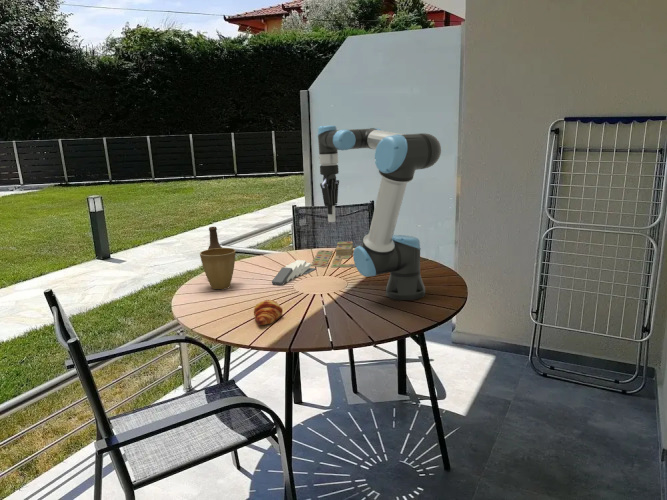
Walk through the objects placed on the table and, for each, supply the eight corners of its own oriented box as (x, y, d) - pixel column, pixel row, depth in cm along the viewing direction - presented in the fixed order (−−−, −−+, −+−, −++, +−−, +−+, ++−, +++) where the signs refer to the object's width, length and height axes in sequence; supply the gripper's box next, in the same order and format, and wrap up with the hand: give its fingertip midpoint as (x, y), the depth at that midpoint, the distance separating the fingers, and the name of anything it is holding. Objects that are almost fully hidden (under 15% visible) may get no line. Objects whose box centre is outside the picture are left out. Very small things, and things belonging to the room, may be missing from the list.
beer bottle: (206, 280, 233) (200, 228, 228) (214, 276, 241) (208, 225, 235) (222, 281, 232) (216, 228, 226) (229, 276, 239) (224, 225, 233)
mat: (306, 274, 236) (306, 273, 236) (291, 272, 239) (291, 272, 239) (315, 269, 244) (315, 268, 243) (301, 267, 247) (301, 267, 247)
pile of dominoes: (318, 252, 280) (317, 242, 278) (368, 251, 276) (367, 240, 275) (308, 269, 246) (307, 258, 245) (365, 268, 243) (364, 256, 242)
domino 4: (296, 274, 231) (305, 260, 238) (286, 273, 233) (296, 259, 240) (297, 277, 231) (306, 263, 238) (287, 276, 234) (297, 262, 241)
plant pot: (225, 294, 213) (221, 256, 209) (196, 291, 219) (192, 254, 215) (245, 283, 226) (242, 248, 222) (218, 281, 232) (214, 246, 228)
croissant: (267, 316, 195) (256, 298, 193) (290, 304, 193) (278, 286, 192) (254, 337, 174) (242, 317, 173) (279, 323, 172) (267, 303, 171)
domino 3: (291, 277, 227) (301, 263, 234) (281, 276, 229) (291, 262, 236) (292, 279, 228) (302, 265, 235) (282, 279, 230) (292, 265, 237)
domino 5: (300, 272, 234) (310, 262, 242) (291, 271, 236) (301, 262, 244) (301, 275, 235) (311, 265, 243) (291, 274, 237) (302, 265, 245)
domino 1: (281, 282, 220) (291, 268, 227) (271, 281, 222) (282, 267, 229) (282, 285, 221) (292, 271, 228) (272, 284, 223) (283, 270, 230)
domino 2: (286, 279, 224) (296, 265, 231) (276, 278, 226) (287, 264, 233) (287, 282, 224) (297, 268, 231) (277, 281, 227) (288, 267, 234)
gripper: (328, 163, 217) (331, 218, 223) (313, 166, 206) (316, 224, 211) (344, 163, 214) (346, 219, 219) (329, 165, 203) (332, 224, 208)
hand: (331, 221), depth 215 cm, fingers closed
